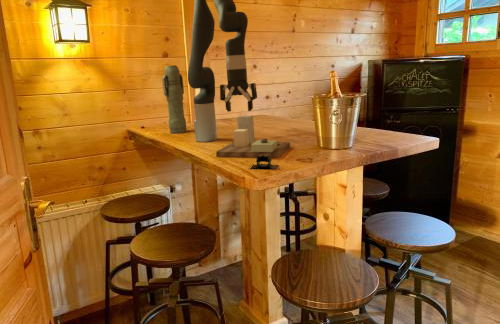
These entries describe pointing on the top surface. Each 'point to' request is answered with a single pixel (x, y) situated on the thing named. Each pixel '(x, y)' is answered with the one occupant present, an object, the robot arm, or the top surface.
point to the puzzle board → (246, 151)
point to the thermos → (174, 99)
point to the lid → (264, 146)
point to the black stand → (264, 159)
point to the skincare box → (247, 125)
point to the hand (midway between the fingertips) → (239, 111)
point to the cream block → (241, 138)
